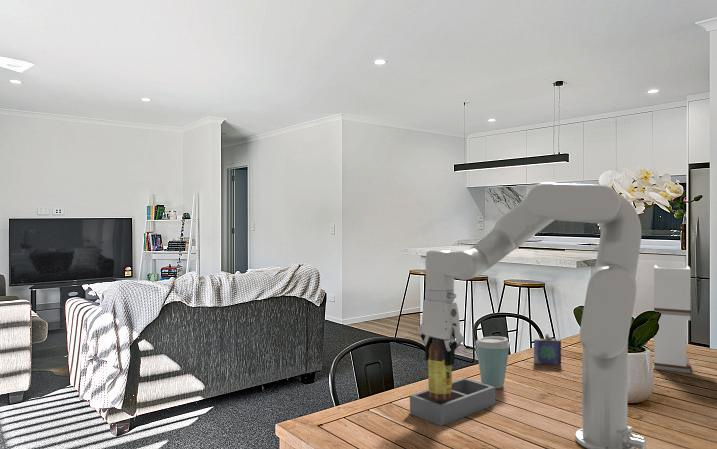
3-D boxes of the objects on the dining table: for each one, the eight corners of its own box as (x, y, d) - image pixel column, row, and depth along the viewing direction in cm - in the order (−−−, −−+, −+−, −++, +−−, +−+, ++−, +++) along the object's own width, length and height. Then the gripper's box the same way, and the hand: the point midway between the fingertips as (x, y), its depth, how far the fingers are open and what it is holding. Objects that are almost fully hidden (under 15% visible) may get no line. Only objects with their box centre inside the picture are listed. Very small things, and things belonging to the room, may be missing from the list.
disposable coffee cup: (475, 389, 159) (474, 341, 159) (475, 378, 170) (475, 333, 170) (510, 392, 157) (510, 342, 157) (509, 381, 167) (509, 334, 167)
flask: (534, 364, 186) (534, 334, 185) (533, 362, 188) (533, 333, 188) (561, 366, 183) (561, 336, 183) (560, 364, 186) (560, 334, 186)
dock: (495, 404, 147) (495, 387, 146) (440, 426, 132) (440, 406, 132) (464, 394, 155) (464, 377, 155) (409, 413, 140) (409, 395, 140)
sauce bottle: (451, 402, 136) (451, 327, 136) (427, 400, 137) (427, 326, 137) (452, 394, 142) (452, 322, 142) (429, 392, 144) (429, 321, 143)
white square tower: (690, 373, 174) (690, 269, 174) (654, 368, 180) (654, 267, 179) (688, 364, 184) (688, 266, 184) (654, 360, 190) (654, 265, 189)
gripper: (474, 298, 135) (474, 366, 135) (425, 290, 148) (425, 353, 149) (455, 301, 130) (455, 372, 131) (406, 293, 144) (407, 358, 144)
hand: (439, 361), depth 140 cm, fingers closed on sauce bottle, 6 cm apart
